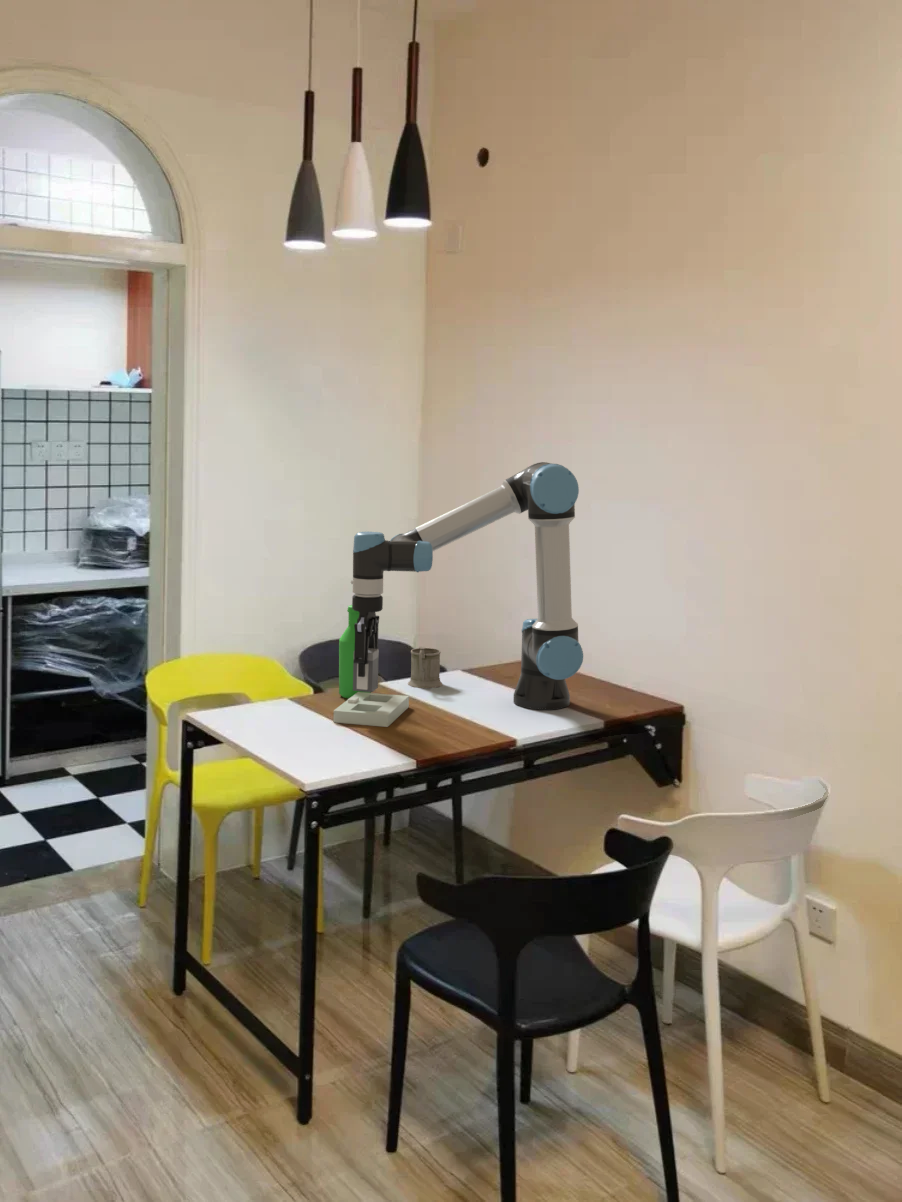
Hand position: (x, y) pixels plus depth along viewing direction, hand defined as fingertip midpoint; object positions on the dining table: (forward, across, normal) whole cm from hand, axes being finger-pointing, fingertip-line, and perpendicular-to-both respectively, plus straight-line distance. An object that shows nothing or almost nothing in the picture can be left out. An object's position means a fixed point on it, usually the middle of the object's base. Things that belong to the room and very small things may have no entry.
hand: (365, 686), depth 283 cm
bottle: (+9, -22, -10) cm, 26 cm away
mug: (+9, -39, +5) cm, 40 cm away
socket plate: (+9, -5, 0) cm, 10 cm away
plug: (+1, 0, 0) cm, 1 cm away
